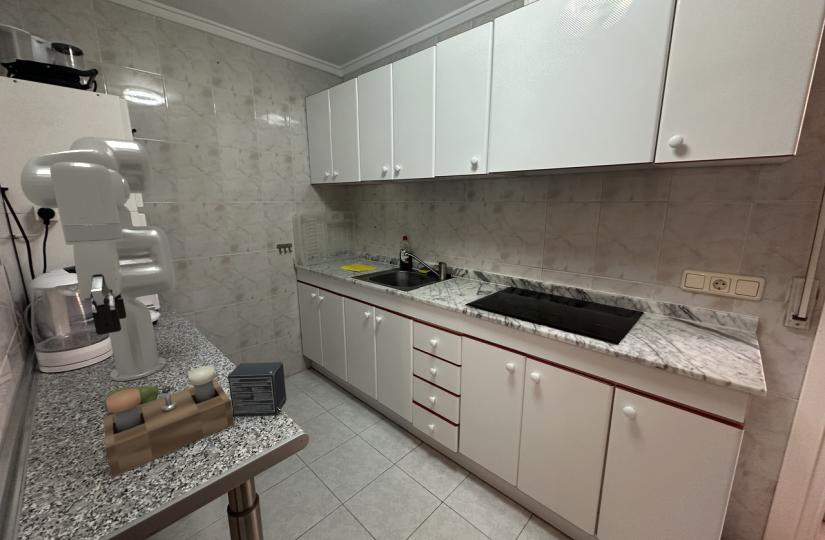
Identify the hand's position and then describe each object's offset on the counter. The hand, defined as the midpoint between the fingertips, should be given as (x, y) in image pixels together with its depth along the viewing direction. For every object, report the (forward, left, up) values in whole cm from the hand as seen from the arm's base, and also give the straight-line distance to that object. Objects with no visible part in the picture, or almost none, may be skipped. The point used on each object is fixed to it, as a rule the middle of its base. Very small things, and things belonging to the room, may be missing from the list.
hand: (113, 325), depth 61 cm
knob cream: (+2, +12, -21) cm, 25 cm away
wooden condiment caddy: (+2, +6, -26) cm, 26 cm away
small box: (+6, +22, -26) cm, 35 cm away
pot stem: (+2, +6, -20) cm, 21 cm away
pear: (-17, +1, -26) cm, 31 cm away
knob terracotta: (+2, -1, -21) cm, 21 cm away
